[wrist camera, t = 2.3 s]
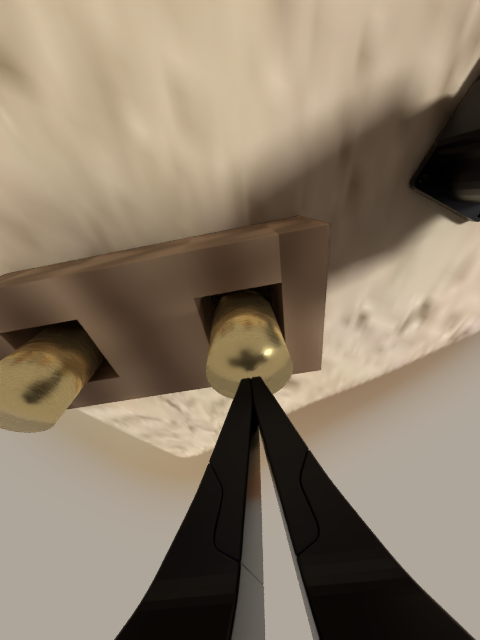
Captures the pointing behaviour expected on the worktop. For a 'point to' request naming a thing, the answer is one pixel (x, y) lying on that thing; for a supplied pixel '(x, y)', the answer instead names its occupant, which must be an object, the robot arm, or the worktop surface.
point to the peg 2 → (246, 344)
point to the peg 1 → (46, 377)
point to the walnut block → (173, 303)
